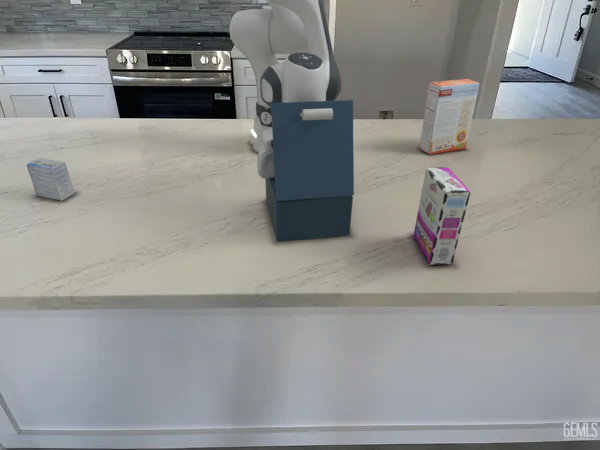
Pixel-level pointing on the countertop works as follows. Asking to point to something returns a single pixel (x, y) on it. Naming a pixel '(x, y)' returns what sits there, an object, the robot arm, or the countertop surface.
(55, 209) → the countertop surface
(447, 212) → the candy bar box
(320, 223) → the dark blue open box
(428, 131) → the cracker box
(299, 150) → the lid
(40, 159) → the medicine box
